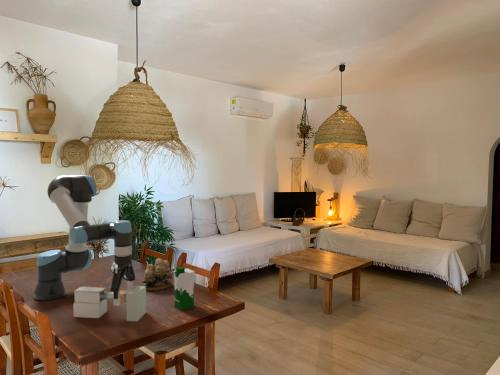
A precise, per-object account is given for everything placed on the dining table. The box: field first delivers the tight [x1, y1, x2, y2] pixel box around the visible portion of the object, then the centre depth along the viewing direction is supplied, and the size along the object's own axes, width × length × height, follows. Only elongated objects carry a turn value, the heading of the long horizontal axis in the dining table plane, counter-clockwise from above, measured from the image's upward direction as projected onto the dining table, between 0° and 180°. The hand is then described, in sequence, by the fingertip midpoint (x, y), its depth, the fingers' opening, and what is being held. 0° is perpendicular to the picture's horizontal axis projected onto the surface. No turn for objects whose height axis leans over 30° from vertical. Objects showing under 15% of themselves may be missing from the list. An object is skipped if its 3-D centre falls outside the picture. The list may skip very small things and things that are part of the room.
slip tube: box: [100, 289, 129, 304], centre depth 175 cm, size 19×4×4 cm, turn 83°
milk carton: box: [172, 266, 196, 311], centre depth 186 cm, size 9×9×20 cm
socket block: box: [125, 285, 147, 322], centre depth 174 cm, size 5×10×13 cm, turn 173°
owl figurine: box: [141, 258, 174, 293], centre depth 214 cm, size 18×12×17 cm, turn 130°
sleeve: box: [73, 286, 108, 319], centre depth 177 cm, size 12×8×12 cm, turn 83°
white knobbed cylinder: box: [110, 261, 129, 281], centre depth 238 cm, size 5×7×25 cm
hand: (123, 299), depth 175 cm, fingers open, 13 cm apart
